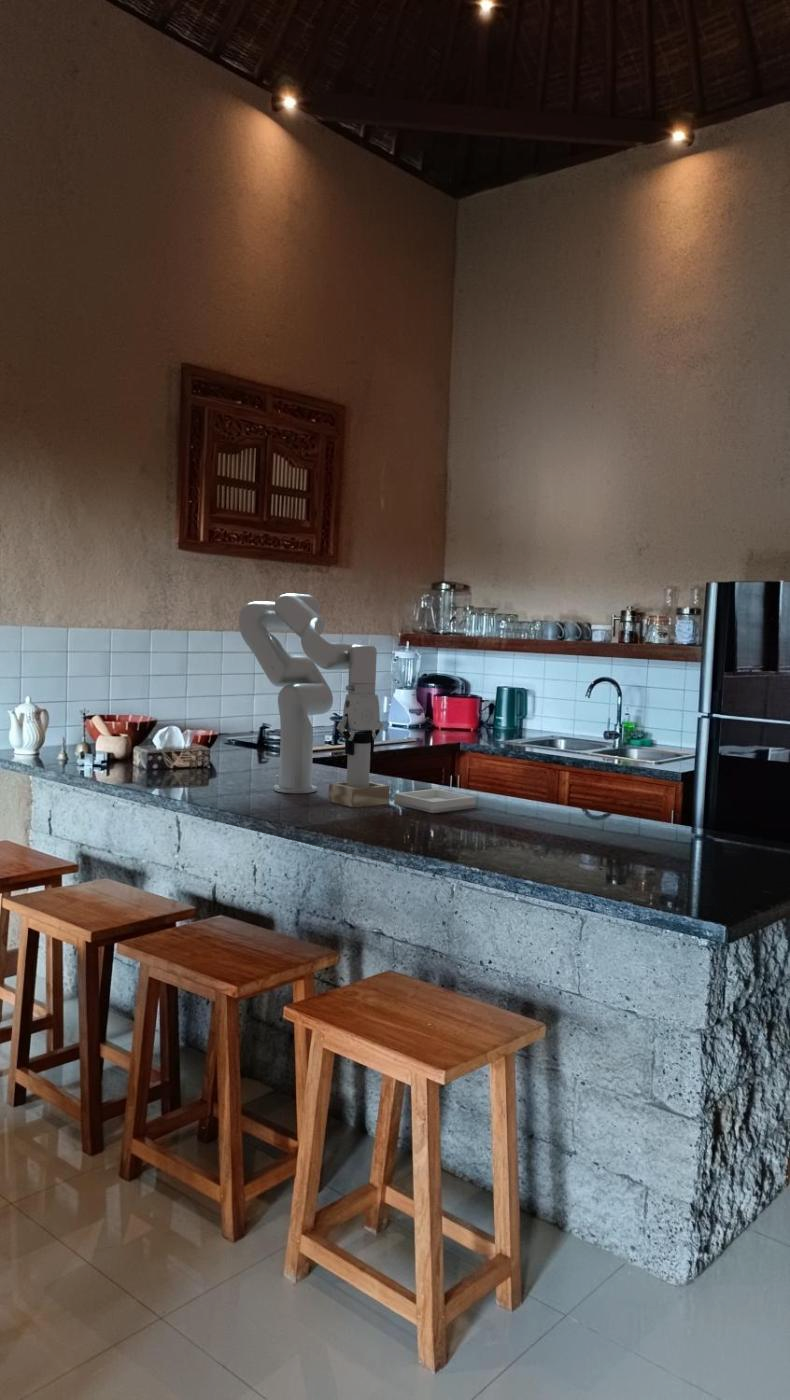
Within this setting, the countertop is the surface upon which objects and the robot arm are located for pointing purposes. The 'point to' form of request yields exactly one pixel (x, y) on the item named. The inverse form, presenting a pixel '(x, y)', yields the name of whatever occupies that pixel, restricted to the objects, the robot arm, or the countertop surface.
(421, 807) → the tray
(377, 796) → the wooden open box
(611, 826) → the countertop surface
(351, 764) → the travel mug
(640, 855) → the countertop surface
